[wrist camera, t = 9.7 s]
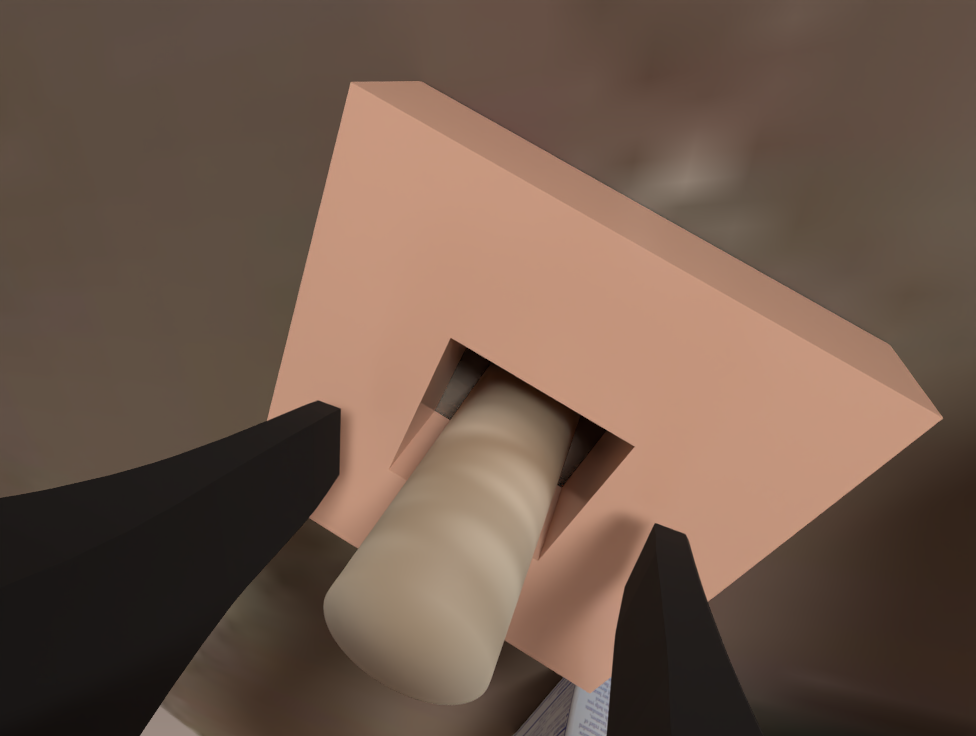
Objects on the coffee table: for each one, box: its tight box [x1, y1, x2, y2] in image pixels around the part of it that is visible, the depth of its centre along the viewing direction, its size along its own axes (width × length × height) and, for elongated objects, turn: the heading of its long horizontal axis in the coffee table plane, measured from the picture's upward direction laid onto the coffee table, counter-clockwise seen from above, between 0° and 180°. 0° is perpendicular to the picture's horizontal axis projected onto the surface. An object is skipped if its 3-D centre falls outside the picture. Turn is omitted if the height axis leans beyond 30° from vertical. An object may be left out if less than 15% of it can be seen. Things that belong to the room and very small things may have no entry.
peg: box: [323, 362, 581, 705], centre depth 12 cm, size 3×3×8 cm
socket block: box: [267, 81, 943, 693], centre depth 14 cm, size 12×12×3 cm
